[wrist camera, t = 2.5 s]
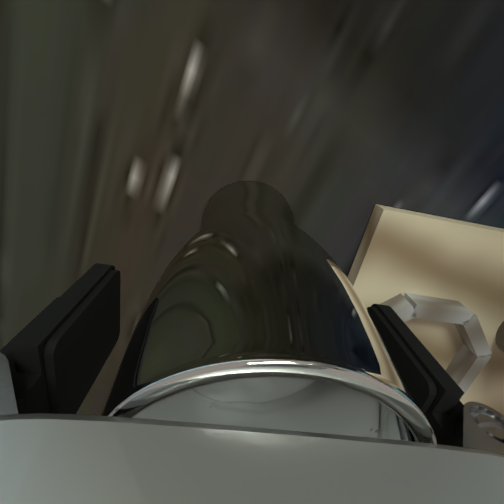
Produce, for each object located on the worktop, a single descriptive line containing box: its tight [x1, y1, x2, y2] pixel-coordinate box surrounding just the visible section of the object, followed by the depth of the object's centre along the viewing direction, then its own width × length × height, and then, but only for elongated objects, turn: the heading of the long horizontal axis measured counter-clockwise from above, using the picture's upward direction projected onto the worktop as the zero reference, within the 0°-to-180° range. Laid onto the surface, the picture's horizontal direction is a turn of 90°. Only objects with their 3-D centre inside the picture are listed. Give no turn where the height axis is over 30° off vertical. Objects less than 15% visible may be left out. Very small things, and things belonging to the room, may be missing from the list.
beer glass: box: [101, 181, 437, 444], centre depth 12 cm, size 7×7×15 cm
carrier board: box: [347, 204, 504, 415], centre depth 20 cm, size 20×20×7 cm
